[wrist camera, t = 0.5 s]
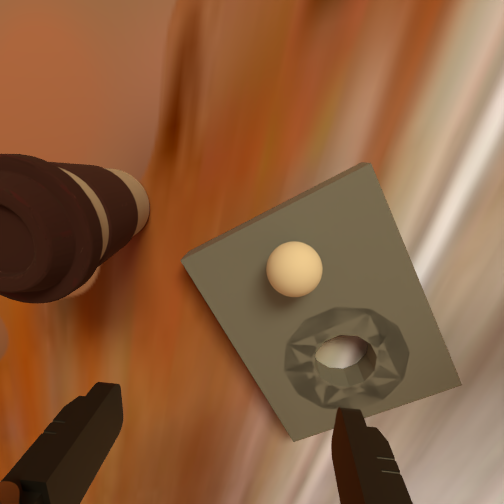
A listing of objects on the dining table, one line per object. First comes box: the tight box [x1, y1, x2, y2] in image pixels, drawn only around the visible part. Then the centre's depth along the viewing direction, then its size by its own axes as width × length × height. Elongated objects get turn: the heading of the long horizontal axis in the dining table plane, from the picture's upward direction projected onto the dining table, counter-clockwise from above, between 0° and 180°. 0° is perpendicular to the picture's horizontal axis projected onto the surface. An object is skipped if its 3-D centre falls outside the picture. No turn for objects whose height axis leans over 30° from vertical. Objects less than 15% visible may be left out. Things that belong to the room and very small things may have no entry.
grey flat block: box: [181, 163, 462, 442], centre depth 33 cm, size 20×26×3 cm
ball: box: [266, 241, 323, 297], centre depth 27 cm, size 5×5×5 cm
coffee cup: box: [0, 154, 150, 303], centre depth 25 cm, size 10×10×15 cm
